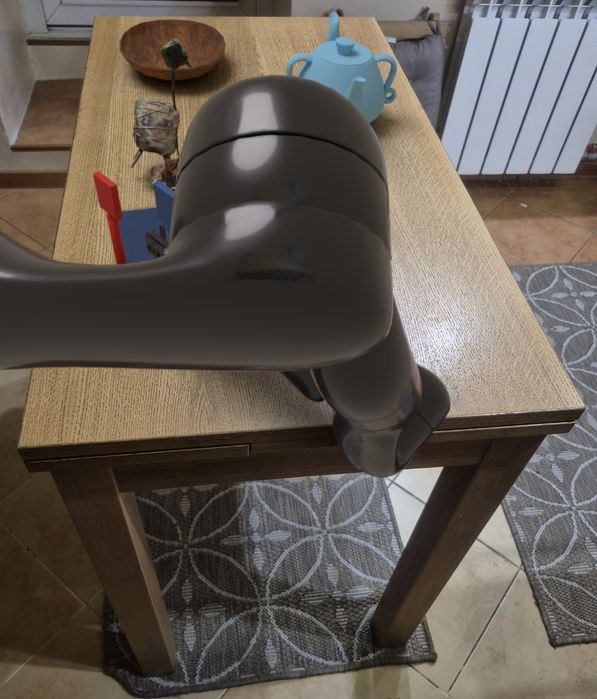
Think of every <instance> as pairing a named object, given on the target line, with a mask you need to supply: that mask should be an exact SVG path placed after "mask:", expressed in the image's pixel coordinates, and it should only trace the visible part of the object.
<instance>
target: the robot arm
mask: <svg viewBox="0 0 597 699" xmlns="http://www.w3.org/2000/svg"><path fill="white" fill-rule="evenodd" d="M173 191H174V200H173V208H172V217H171V226H170V234H169V243H168V242H167V241H166V232H165V225H166V224H163V225H161V226H159V230H160V235H158V234H157V233H156V232H155V231H153V230H151V231H149V232H147V233H146V238H145V239H146V246H147V250H148V252H150V253H151V254H152V255H153V256H155V257H156V258H155V259H154V260H149V261H143V262H138V263H127V264H116V263H113V264H112V263H111V264H110V263H109V264H107V263H105V264H104V263H103V264H95V263H85V262H84V263H83V262H82V263H81V262H71V261H70V262H69V261H61V260H58V259H55V258H53V257H50V256H47V255H46V254H43V253H41V252H39V251H36V250H34V249H33V248H31V247H29V246H27V245H25V244H24V243H22V242H20V241H18V240H17V239H16V238H14V237H12V236H11V235H9V234H8V233H6V232H5V231H3V230H1V229H0V371H8V370H9V371H12V370H13V371H14V370H33V369H36V370H37V369H74V368H75V369H76V368H77V369H79V368H81V369H116V370H117V369H119V370H120V369H121V370H122V369H123V370H150V371H151V370H154V371H155V370H157V371H194V372H224V373H225V372H229V373H230V372H233V373H234V372H237V373H238V372H239V373H240V372H242V373H246V372H247V373H251V372H252V373H274V374H275V375H277V376H278V377H279V378H280V379H282V381H284V382H285V383H286V384H287V385H289V386H290V387H292V389H293V390H295V391H296V392H298V393H299V394H300V395H301V396H303V397H304V398H305V399H307V400H309V401H311V402H313V403H323V402H326V403H327V405H328V406H329V407H330V408H331V425H332V430H333V435H334V437H335V441H336V443H337V444H338V448H340V450H341V452H342V453H343V455H344V456H345V458H346V459H347V460H348V461H349V462H350V463H351V464H352V465H353V466H354V467H356V468H357V469H358V470H360V471H361V472H363V473H364V474H366V475H367V476H368V475H369V476H371V477H375V478H379V479H381V478H391V477H393V476H395V475H397V474H399V473H400V472H402V471H403V470H404V469H405V468H406V467H407V466H408V464H409V463H410V462H411V461H412V460H413V459H414V457H415V456H416V455H417V453H419V451H420V450H421V448H423V446H424V445H425V444H426V443H427V441H428V440H429V439H430V437H431V436H432V435H433V433H434V432H436V431H437V429H438V428H439V426H441V424H442V423H443V421H444V420H445V419H446V418H447V416H448V414H449V412H450V411H451V406H452V402H451V396H450V393H449V390H448V388H447V386H446V384H445V383H444V382H443V380H442V379H441V378H440V377H439V376H438V375H437V374H436V373H434V372H433V371H432V370H430V369H428V368H427V367H425V366H423V365H421V364H418V363H417V362H416V358H415V356H414V353H413V351H412V348H411V345H410V342H409V339H408V336H407V333H406V329H405V327H404V325H403V324H404V323H403V321H402V318H401V314H400V312H399V309H398V305H397V301H396V299H395V295H394V282H393V280H394V279H393V267H392V259H393V257H392V232H391V230H392V229H391V228H392V227H391V210H390V209H391V208H390V191H389V181H388V170H387V165H386V161H385V157H384V153H383V149H382V145H381V142H380V141H379V138H378V135H377V133H376V132H375V130H374V128H373V127H372V125H371V123H369V122H368V120H367V118H366V117H365V116H364V115H363V114H362V112H361V111H360V110H359V109H358V108H357V107H356V106H355V105H354V104H353V103H352V102H351V101H350V100H349V99H347V98H346V97H344V96H343V95H342V94H340V93H339V92H337V91H336V90H334V89H333V88H330V87H328V86H326V85H324V84H321V83H319V82H317V81H315V80H311V79H306V78H302V77H298V75H293V76H292V75H287V74H267V75H266V74H265V75H258V76H251V77H248V78H244V79H241V80H238V81H235V82H232V83H230V84H228V85H227V86H225V87H223V88H221V89H220V90H218V91H216V92H215V93H213V95H211V96H210V97H209V98H208V99H207V100H206V101H205V102H204V103H203V104H201V106H200V107H199V109H198V110H197V112H196V113H195V115H194V116H193V118H192V120H191V121H190V123H189V126H188V128H187V131H186V134H185V137H184V140H183V144H182V147H181V150H180V152H179V162H178V168H177V175H176V182H175V189H174V190H173Z"/></svg>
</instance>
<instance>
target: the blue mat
mask: <svg viewBox="0 0 597 699" xmlns="http://www.w3.org/2000/svg"><path fill="white" fill-rule="evenodd" d="M122 215H123V218H122V219H120V220H118V221H119V226H120V231H121V236H122V241H123V247H124V252H125V257H126V262H127V263H138V262H143V261H149V260H154V259H155V258H156V257H155V256H153V255H152V254H151V253H150V252H148V250H147V246H146V239H145V238H146V233H147V232H149V231H151V230H153V231H155V232H156V233H157V234H158V235H160V230H159V226H161V225H163V224H164V223H163V222H162V221H160V220H159V219H158V217H157V209H156V207H149V208H148V207H147V208H140V209H139V208H138V209H132V210H123V211H122Z"/></svg>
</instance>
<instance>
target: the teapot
mask: <svg viewBox="0 0 597 699" xmlns="http://www.w3.org/2000/svg"><path fill="white" fill-rule="evenodd" d="M339 17H340V16H339V14H338V13H337V12H335V11H332V12H330V14H329V25H328V31H327V36H326V38H325V42H322V43H321V44H319V45H317V46H316V48H314V50H313V51H312V52H311V54H310V53H309V54H308V53H305V52H300V53H299V52H298V53H296V54H294V55H292V56H291V57H289V59H288V61H287V63H286V67H285V72H286V75H292V76H294V74H293V68H294V66H295V64H296V63H299V62H304V63H303V65H302V66H301V68H300V69H299V71H298V73H297V76H298V77H302V78H306V79H311V80H315V81H317V82H319V83H321V84H324V85H326V86H328V87H330V88H333V89H334V90H336V91H337V92H339V93H340V94H342V95H343V96H344V97H346V98H347V99H349V100H350V101H351V102H352V103H353V104H354V105H355V106H356V107H357V108H358V109H359V110H360V111H361V112H362V114H363V115H364V116H365V117H366V118H367V120H368V122H369V123H370V124H371V123H372V122H373V121H375V120H376V119H377V118H379V116H380V115H381V114H382V112H383V110H384V106H385V105H389V104H392V103H394V102H395V101H396V98H397V91H396V89H394V88H393V87H391V86H392V85H393V82H394V81H395V78H396V74H397V71H398V65H397V61H396V59H395V58H394V57H393V56H392V55H390V54H388V53H383V52H382V53H376V54H374V55H373V53H372V51H371V50H370V49H369V48H368V47H366V46H364V45H362V44H361V43H357V42H356V40H355V39H354V38H351V37H349V36H341V32H340V18H339ZM379 62H387V63H389V64H390V69H389V73H388V75H387V77H386V80H385V82H384V79H383V76H382V72H381V70H380V68H379V65H378V63H379ZM388 94H391V95H389V96H387V95H388Z"/></svg>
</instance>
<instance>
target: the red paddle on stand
mask: <svg viewBox="0 0 597 699" xmlns="http://www.w3.org/2000/svg"><path fill="white" fill-rule="evenodd" d="M92 178H93V181H94V182H93V183H94V186H95V190H96V191H95V192H96V195H97V196H96V197H97V200H98V204H99V208H101V209H102V210H103V211H104V212H106V220H107V226H108V230H109V231H108V232H109V235H110V239H111V240H110V241H111V245H112V249H113V254H114V258H115V264H127V262H126V257H125V252H124V247H123V241H122V236H121V231H120V226H119V221H118V220H120V219H122V218H123V215H122V205H121V199H120V195H119V194H120V193H119V189H118V185H117V184H116V183H115V182H114V181H112V180H111V179H110V178H109V177H107V176H106V175H104V173H102V172H101V171H100V170H97V171H95V172H93V173H92Z"/></svg>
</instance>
